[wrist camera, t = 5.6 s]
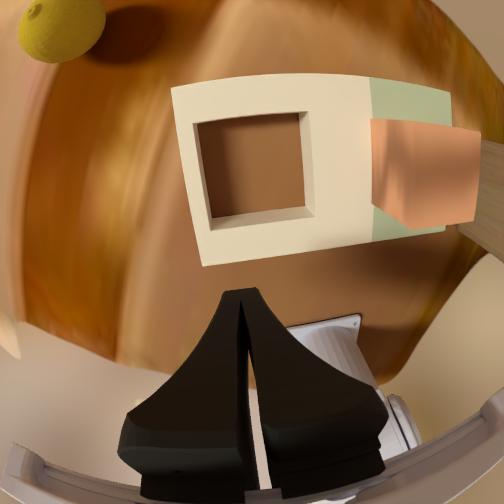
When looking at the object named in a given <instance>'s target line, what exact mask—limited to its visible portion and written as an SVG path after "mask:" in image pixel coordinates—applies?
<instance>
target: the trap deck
mask: <svg viewBox="0 0 504 504" xmlns="http://www.w3.org/2000/svg"><path fill="white" fill-rule="evenodd" d="M171 93H172V101H173V108H174V115H175V122H176V129H177V136H178V142H179V148H180V154H181V160H182V166H183V172H184V178H185V183H186V189H187V194H188V199H189V205H190V210H191V215H192V220H193V225H194V229H195V234H196V239H197V244H198V248H199V253H200V257H201V262H202V266H209V265H217V264H224V263H231V262H238V261H245V260H252V259H259V258H266V257H273V256H280V255H287V254H294V253H301V252H308V251H315V250H322V249H328V248H335V247H342V246H349V245H355V244H362V243H369V242H375V241H382V240H388V239H395V238H401V237H408V236H414V235H421V234H427V233H434V232H440V231H445V226H446V225H444V226H437V227H430V228H423V229H416V230H410V229H408V228H407V227H406V226H404V225H403V224H401V223H400V222H398V221H397V220H396V219H394V218H393V217H391V216H390V215H388V214H387V213H385V212H384V211H382V210H381V209H379V208H378V207H376V206H375V205H373V204H371V195H372V152H371V128H370V118H372V119H393V120H407V121H417V122H425V123H433V124H439V125H446V126H452V112H451V98H450V92H446V91H442V90H438V89H434V88H430V87H425V86H421V85H416V84H411V83H406V82H400V81H394V80H387V79H380V78H372V77H363V76H352V75H338V74H269V75H255V76H244V77H234V78H226V79H219V80H212V81H205V82H199V83H194V84H189V85H183V86H179V87H174V88H171ZM283 113H299V123H300V134H301V145H302V158H303V172H304V188H305V206H302V207H293V208H285V209H277V210H269V211H261V212H254V213H246V214H239V215H232V216H225V217H218V218H212V215H211V209H210V204H209V198H208V192H207V186H206V180H205V173H204V167H203V161H202V154H201V148H200V141H199V134H198V127H197V124H199V123H205V122H211V121H217V120H224V119H232V118H239V117H248V116H258V115H269V114H283Z"/></svg>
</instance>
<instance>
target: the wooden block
mask: <svg viewBox="0 0 504 504" xmlns="http://www.w3.org/2000/svg"><path fill="white" fill-rule="evenodd" d="M456 226H457V229H458V231H459V232H461V233H462V234H464V235H465V236H467V237H468V238H470V239H471V240H473V241H474V242H475V243H477V244H478V245H480V246H481V247H483V248H484V249H485V250H487V251H488V252H490V253H491V254H492V255H494V256H495V257H497V258H498V259H499V260H501V261H502V262H503V263H504V145H503V144H499V143H495V142H491V141H488V140H483V139H481V156H480V174H479V185H478V194H477V202H476V209H475V216H474V221H472V222H465V223H458V224H456Z"/></svg>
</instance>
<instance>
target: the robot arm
mask: <svg viewBox="0 0 504 504" xmlns="http://www.w3.org/2000/svg"><path fill="white" fill-rule="evenodd" d="M360 321H361V317H360V316H359V315H358V314H355V315H351V316H346V317H342V318H337V319H332V320H327V321H322V322H317V323H312V324H306V325H301V326H295V327H290V328H285V327H284V326H283V325H282V323H281V322H280V321H279V320H278V319H277V317H276V316H275V315H274V314H273V312H272V311H271V310H270V308H269V307H268V305H267V304H266V302H265V301H264V299H263V298H262V296H261V294H260V292H259V289H257V288H256V287H254V288H246V289H238V290H230V291H225V292H224V293H223V294H222V297H221V300H220V303H219V305H218V307H217V310H216V312H215V314H214V316H213V318H212V320H211V322H210V324H209V326H208V328H207V329H206V331H205V333H204V334H203V336H202V338H201V339H200V341H199V343H198V344H197V346H196V347H195V349H194V350H193V351H192V353H191V354H190V355H189V357H188V358H187V359H186V361H185V362H184V363H183V364H182V365H181V366H180V368H179V369H178V370H177V371H176V372H175V373H174V374H173V375H172V377H171V378H170V379H169V380H168V381H167V382H165V383H164V384H163V385H162V386H161V387H160V388H159V389H158V390H157V391H156V392H155V393H154V394H152V395H151V396H150V397H149V398H147V399H146V400H145V401H143V402H142V403H141V404H139V405H138V406H137V407H135V408H134V409H133V410H131V411H130V412H128V413H127V416H126V419H125V421H124V424H123V427H122V430H121V435H120V441H119V446H118V450H117V453H118V456H119V457H120V458H121V459H122V460H123V461H124V462H125V463H126V464H127V465H129V466H130V467H132V468H133V469H134V470H136V471H137V472H139V473H140V474H141V475H142V478H141V487H138V486H132V485H126V484H121V483H117V482H112V481H108V480H103V479H99V478H95V477H92V476H88V475H84V474H81V473H78V472H74V471H71V470H68V469H65V468H63V467H60V466H57V465H54V464H52V463H49V462H47V461H44V459H43V458H41V457H40V456H38V455H37V454H36V453H34V452H32V451H30V450H29V449H27V448H25V447H22V446H20V445H18V444H16V443H12V445H11V448H10V451H9V454H8V457H7V461H6V464H5V467H4V471H3V475H2V479H1V483H0V488H1V489H2V490H3V491H4V492H6V493H7V494H9V495H10V496H12V497H14V498H15V499H16V500H18V501H20V502H21V503H23V504H307V503H311V504H446V503H448V502H449V501H451V500H452V499H454V498H455V497H457V496H458V495H459V494H461V493H462V492H463V491H465V490H466V489H467V488H469V487H470V486H471V485H473V484H474V483H475V482H476V481H478V480H479V479H480V478H481V477H483V476H484V475H485V474H486V473H487V472H488V471H490V470H491V469H492V468H493V467H494V466H495V465H496V464H497V463H498V462H499V461H500V460H501V459H503V457H504V387H503V388H502V389H500V390H499V391H498V392H496V393H495V394H494V395H493V396H492V397H490V398H489V399H488V400H487V401H486V402H485V403H484V405H483V406H482V407H481V408H480V410H479V411H478V412H476V413H475V414H473V415H472V416H470V417H469V418H467V419H466V420H464V421H462V422H461V423H460V424H458V425H456V426H454V427H453V428H451V429H449V430H447V431H445V432H444V433H442V434H440V435H438V436H437V437H434V438H433V439H431V440H429V441H427V442H425V443H423V442H422V439H421V436H420V433H419V431H418V428H417V426H416V424H415V421H414V419H413V417H412V415H411V413H410V411H409V409H408V407H407V406H406V404H405V402H404V400H403V399H402V397H400V396H397V395H396V396H395V395H394V394H391V395H389V396H387V399H388V402H389V404H390V406H391V409H390V407H389V405H388V403H387V401H386V399H385V396H384V394H383V392H382V390H381V389H379V387H378V385H377V383H376V381H375V379H374V377H373V375H372V373H371V371H370V369H369V367H368V365H367V363H366V361H365V359H364V357H363V355H362V353H361V351H360V349H359V347H358V345H357V343H356V342H357V337H358V332H359V326H360ZM355 322H356V323H355ZM248 349H249V354H250V358H251V363H252V367H253V371H254V375H255V380H256V387H257V395H258V404H259V413H260V422H261V428H262V434H263V439H264V445H265V450H266V456H267V463H268V470H269V476H270V480H271V485H272V489H263V490H260V484H259V477H258V470H257V464H256V456H255V450H254V441H253V433H252V425H251V416H250V408H249V395H248ZM391 410H392V411H391ZM392 412H393V413H392Z"/></svg>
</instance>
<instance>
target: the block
mask: <svg viewBox="0 0 504 504" xmlns="http://www.w3.org/2000/svg"><path fill="white" fill-rule="evenodd" d="M370 128H371V152H372V195H371V204H373V205H375V206H376V207H378V208H379V209H381V210H382V211H384V212H385V213H387V214H388V215H390V216H391V217H393V218H394V219H396V220H397V221H398V222H400V223H401V224H403V225H404V226H406V227H407V228H408V229H410V230H416V229H423V228H430V227H437V226H444V225H451V224H458V223H465V222H472V221H474V216H475V209H476V202H477V194H478V185H479V174H480V156H481V132H477V131H472V130H468V129H463V128H457V127H452V126H446V125H439V124H433V123H425V122H417V121H407V120H393V119H372V118H370Z"/></svg>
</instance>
